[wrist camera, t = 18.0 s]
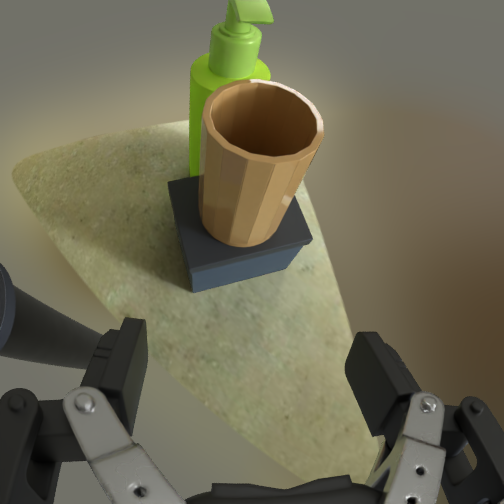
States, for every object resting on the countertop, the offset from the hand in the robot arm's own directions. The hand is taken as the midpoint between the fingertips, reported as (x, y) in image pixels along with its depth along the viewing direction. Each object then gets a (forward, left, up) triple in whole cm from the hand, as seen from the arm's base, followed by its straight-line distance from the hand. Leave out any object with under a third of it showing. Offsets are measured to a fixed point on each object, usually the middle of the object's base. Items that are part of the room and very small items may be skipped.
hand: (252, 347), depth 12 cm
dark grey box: (+4, +10, -15) cm, 19 cm away
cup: (+4, +10, -8) cm, 14 cm away
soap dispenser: (+5, +18, -16) cm, 24 cm away
